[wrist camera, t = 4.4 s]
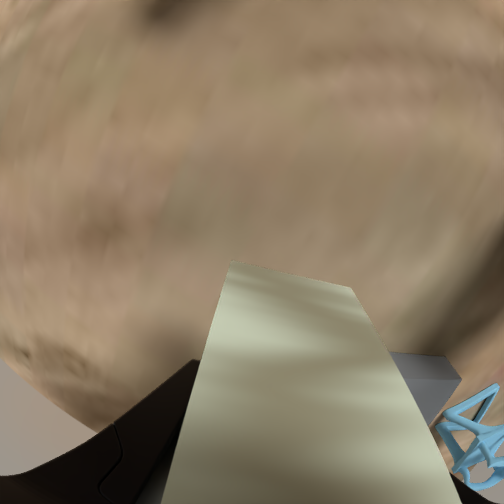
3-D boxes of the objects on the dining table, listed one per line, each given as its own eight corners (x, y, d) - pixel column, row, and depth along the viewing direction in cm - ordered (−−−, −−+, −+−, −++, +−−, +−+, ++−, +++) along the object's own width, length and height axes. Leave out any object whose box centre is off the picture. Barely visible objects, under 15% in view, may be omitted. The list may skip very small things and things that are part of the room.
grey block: (443, 354, 22) (462, 379, 19) (388, 434, 26) (397, 460, 22) (310, 338, 22) (318, 370, 18) (270, 429, 26) (271, 460, 22)
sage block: (350, 287, 9) (466, 514, 2) (303, 394, 11) (323, 580, 3) (231, 260, 9) (152, 534, 2) (206, 376, 11) (160, 570, 3)
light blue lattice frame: (450, 396, 24) (493, 474, 12) (497, 381, 23) (541, 444, 12) (427, 437, 26) (456, 509, 15) (474, 422, 26) (506, 483, 14)
